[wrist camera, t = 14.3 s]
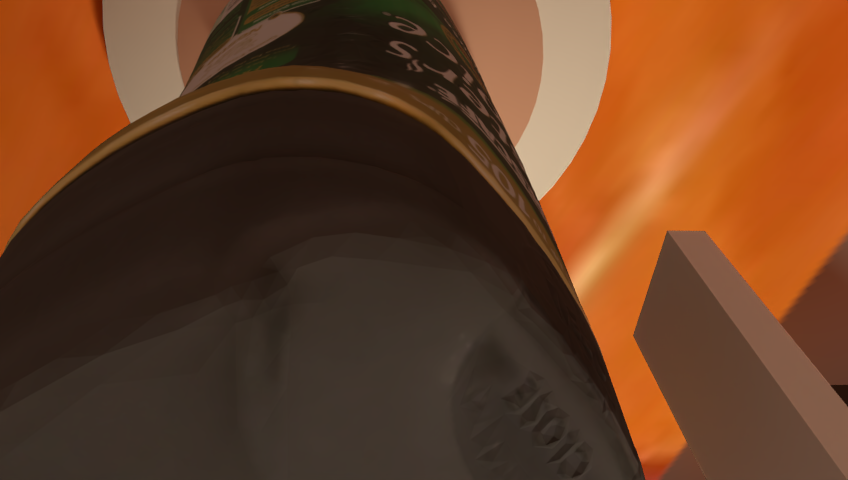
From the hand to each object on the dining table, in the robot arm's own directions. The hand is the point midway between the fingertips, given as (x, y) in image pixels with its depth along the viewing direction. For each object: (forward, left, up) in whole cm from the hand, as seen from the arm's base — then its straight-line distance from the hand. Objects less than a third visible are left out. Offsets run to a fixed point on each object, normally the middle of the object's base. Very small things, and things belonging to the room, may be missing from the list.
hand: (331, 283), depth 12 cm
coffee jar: (0, 0, -13) cm, 12 cm away
